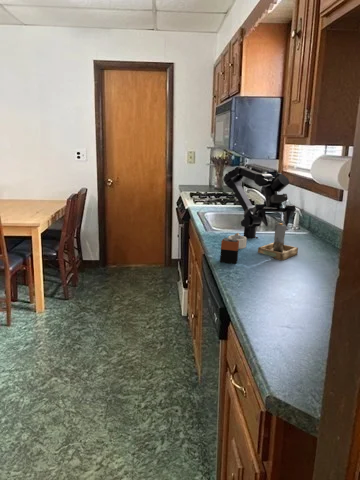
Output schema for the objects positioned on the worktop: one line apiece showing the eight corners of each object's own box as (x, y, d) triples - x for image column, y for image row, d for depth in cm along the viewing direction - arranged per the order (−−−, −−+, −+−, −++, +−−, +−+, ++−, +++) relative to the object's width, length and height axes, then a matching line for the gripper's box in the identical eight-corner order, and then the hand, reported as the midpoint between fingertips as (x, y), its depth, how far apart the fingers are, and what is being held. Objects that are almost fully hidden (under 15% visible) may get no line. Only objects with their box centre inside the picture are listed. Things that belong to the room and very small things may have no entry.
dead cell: (236, 244, 190) (237, 232, 189) (241, 246, 188) (242, 233, 187) (232, 245, 188) (233, 233, 187) (237, 247, 186) (238, 234, 185)
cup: (234, 244, 194) (235, 234, 193) (248, 248, 189) (249, 237, 188) (224, 247, 188) (225, 237, 187) (238, 251, 183) (239, 240, 182)
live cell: (274, 249, 184) (277, 221, 180) (283, 251, 182) (287, 223, 178) (271, 252, 180) (274, 223, 176) (281, 254, 178) (284, 225, 175)
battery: (236, 264, 165) (238, 240, 162) (219, 262, 166) (221, 239, 164) (237, 261, 169) (239, 238, 166) (221, 259, 170) (222, 236, 168)
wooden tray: (273, 248, 190) (274, 242, 189) (297, 254, 182) (298, 247, 182) (257, 254, 180) (258, 247, 179) (281, 260, 172) (282, 253, 171)
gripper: (256, 186, 181) (262, 216, 173) (297, 187, 183) (303, 216, 176) (250, 200, 191) (254, 229, 183) (288, 201, 193) (294, 229, 185)
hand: (276, 226), depth 182 cm, fingers open, 9 cm apart
